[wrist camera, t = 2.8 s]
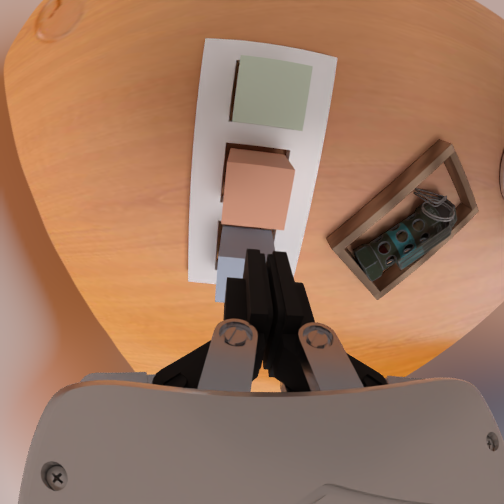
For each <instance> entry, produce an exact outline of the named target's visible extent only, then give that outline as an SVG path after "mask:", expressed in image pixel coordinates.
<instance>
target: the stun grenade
mask: <svg viewBox="0 0 504 504" xmlns="http://www.w3.org/2000/svg"><path fill="white" fill-rule="evenodd" d="M415 190H416V191H417V192H418V193H417V194H416V192H414V194H415V195H416V196H418V197H420V198H421V199H423V200H424V201H425V202H424V203H423V204H422V205H421V206H419V207H418V208H416V211H415V213H414V214H412V215H411V216H409V217H408V218H406V219H405V220H404V221H402V222H401V223H399V224H397V225H396V226H395V227H393V228H391V229H390V230H388V231H387V232H386V233H384V234H382V235H381V236H379V237H378V238H376V239H374V240H373V241H372V242H370V243H369V244H362V245H361V246H359V247H358V248H356V249H354V251H353V252H354V254H355V256H356V258H357V260H358V261H359V263H360V265H361V267H362V268H363V270H364V272H365V273H366V275H367V277H368V279H369V280H370V281H374V280H376V279H377V278H379V277H380V276H381V275H382V273H383V270H385V269H386V268H388V267H390V266H391V265H393V264H395V263H396V264H397V265H398V267H399V268H400V269H401V270H402V269H404V268H405V267H407V266H408V265H410V264H411V263H413V262H414V261H416V260H417V259H418V258H420V257H421V256H423V255H424V254H426V253H427V252H428V251H430V250H431V249H433V248H434V247H435V246H437V245H438V244H439V243H441V242H442V241H444V240H445V239H446V238H448V237H449V236H450V235H451V231H452V227H454V224H455V223H456V221H457V215H456V210H455V205H454V204H452V203H451V202H450V201H449V200H447V196H442V195H439V194H436V193H432V192H429V191H426V190H422V189H417V188H415ZM418 190H420V191H424V192H427V193H431V194H434V195H438V197H434V196H430V195H426V194H422V193H421V192H420V191H418ZM418 194H421V195H423V196H424V197H425V198H427V199H428V200H429V201H427V200H425V199H424V198H422V197H421V196H419V195H418ZM427 196H429V197H432V198H436V199H429V198H428V197H427ZM437 199H438V200H437ZM432 200H435V201H432ZM436 201H438V202H436ZM430 202H432V203H435V204H436V205H433V204H431V203H430ZM398 233H399V234H398ZM423 239H425V240H423ZM421 240H423V241H421ZM406 250H409V251H407V252H405V251H406ZM403 257H404V258H403ZM400 259H401V260H400ZM390 261H392V262H390ZM388 262H390V263H389V264H387V263H388Z"/></svg>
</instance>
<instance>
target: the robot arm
mask: <svg viewBox="0 0 504 504" xmlns="http://www.w3.org/2000/svg"><path fill="white" fill-rule="evenodd" d="M500 185H501V192H502V195H503V198H504V154H503V158H502V163H501V170H500ZM262 360H263V367H264V369H268V373H269V377H275V378H276V379H278V380H279V381H280V389H281V392H250V391H251V384H252V381H253V380H254V379H255V378H257V377H258V373H259V369H260V368H261V364H262ZM18 504H504V441H503V438H502V436H501V433H500V430H499V428H498V426H497V423H496V422H495V419H494V417H493V415H492V413H491V411H490V409H489V407H488V405H487V403H486V401H485V400H484V398H483V396H482V395H481V393H480V392H479V390H478V389H477V388H476V387H475V386H474V385H473V384H471V383H469V382H467V381H464V380H460V379H455V378H430V379H422V378H407V377H395V376H387V377H386V378H384V377H383V376H382V375H381V374H380V373H378V372H377V371H375V370H373V369H372V368H370V367H368V366H367V365H365V364H363V363H362V362H360V361H358V360H357V359H355V358H354V357H352V356H350V355H349V354H347V353H346V352H345V350H344V348H343V346H342V344H341V342H340V340H339V339H338V337H337V335H336V333H335V332H334V331H333V330H332V329H331V328H330V327H328V326H326V325H324V324H321V323H315V321H314V317H313V314H312V311H311V307H310V304H309V301H308V297H307V294H306V291H305V288H304V285H303V283H298V282H295V281H294V278H293V274H292V270H291V267H290V263H289V260H288V256H287V253H286V252H281V251H273V252H272V254H268V255H267V260H266V259H265V254H264V253H260V250H258V249H247V250H246V257H245V264H244V272H243V278H231V277H227V281H226V291H225V304H224V321H222V322H220V323H219V324H218V325H217V326H216V328H215V330H214V333H213V336H212V340H211V341H209V342H207V343H206V344H204V345H202V346H201V347H199V348H197V349H196V350H194V351H192V352H191V353H189V354H187V355H186V356H184V357H182V358H180V359H179V360H177V361H175V362H174V363H172V364H170V365H168V366H167V367H165V368H163V369H161V370H160V371H159V372H158V373H156V375H147V373H146V372H135V373H92V374H89V375H87V376H85V377H84V378H83V379H82V380H81V382H79V383H75V384H71V385H68V386H66V387H64V388H62V389H60V390H59V391H58V392H57V393H56V394H54V395H53V397H52V398H51V400H50V401H49V402H48V404H47V406H46V407H45V409H44V412H43V414H42V416H41V418H40V420H39V423H38V425H37V428H36V430H35V433H34V436H33V439H32V442H31V445H30V448H29V452H28V456H27V460H26V464H25V468H24V473H23V478H22V483H21V488H20V494H19V501H18Z"/></svg>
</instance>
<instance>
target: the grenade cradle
mask: <svg viewBox="0 0 504 504" xmlns="http://www.w3.org/2000/svg"><path fill="white" fill-rule="evenodd" d="M443 162H444V164H445V166H446V168H447V170H448V172H449V174H450V176H451V179H452V181H453V183H454V185H455V188H456V190H457V192H458V195H459V197H460V200H461V202H462V203H461V204H460V205H459V206H458V207H457V208H456V209H455V210H456V215H457V221H456V223H455V224H454V227H452V231H451V235H450V236H449V237H448V238H446V239H445V240H444V241H442V242H441V243H439V244H438V245H437V246H435V247H434V248H433V249H431V250H430V251H428V252H427V253H426V254H424V255H423V256H421V257H420V258H418V259H417V260H416V261H414V262H413V263H411V264H410V265H408V266H407V267H405V268H404V269H402V270H401V269H400V268H399V267H398V265H397V264H396V263H395V264H393V265H392V266H391V267H390V268H388V269H387V270H386V271H385V272H383V273H382V275H381V276H380V277H379V278H377V279H376V280H374V281H370V280H369V279H368V277H367V275H366V273H365V272H364V270H363V268H362V267H361V265H360V264H359V263H358V261H357V260H356V259H355V258H354V257H353V256H352V254H351V253H350V252H349V251H348V250H347V249H346V247H347V246H349V245H350V244H351V243H352V242H353V241H355V240H356V239H357V238H358V237H359V236H361V235H362V234H363V233H364V232H365V231H367V230H368V229H369V228H370V227H371V226H373V225H374V224H375V223H376V222H377V221H378V220H380V219H381V218H382V217H383V216H384V215H385V214H387V213H388V212H389V211H390V210H391V209H392V208H394V207H395V206H396V205H397V204H398V203H399V202H400V201H402V200H403V199H404V198H405V197H406V196H407V195H408V194H409V193H410V192H412V191H413V190H414V189H415V188H416V187H417V186H418V185H419V184H420V183H422V182H423V181H424V180H425V179H426V178H427V177H428V176H429V175H430V174H431V173H432V172H433V171H434V170H436V169H437V168H438V167H439V166H440V165H441V164H442V163H443ZM477 212H478V207H477V204H476V202H475V199H474V196H473V193H472V190H471V188H470V185H469V182H468V180H467V177H466V175H465V172H464V170H463V167H462V165H461V163H460V161H459V158H458V156H457V154H456V152H455V149H454V147H453V145H452V144H451V143H448V142H445V141H443V140H440V139H439V140H438V141H437V142H436V143H435V144H434V145H433V146H432V147H431V148H430V149H429V150H428V151H426V152H425V153H424V154H423V155H422V156H421V157H420V158H419V159H418V160H417V161H415V162H414V163H413V164H412V165H411V166H410V167H409V168H408V169H407V170H405V171H404V172H403V173H402V174H401V175H400V176H399V177H398V178H396V179H395V180H394V181H393V182H392V183H391V184H390V185H389V186H387V187H386V188H385V189H384V190H383V191H382V192H381V193H379V194H378V195H377V196H376V197H375V198H374V199H372V200H371V201H370V202H369V203H368V204H367V205H366V206H364V207H363V208H362V209H361V210H360V211H359V212H357V213H356V214H355V215H354V216H353V217H351V218H350V219H349V220H348V221H347V222H346V223H344V224H343V225H342V226H341V227H340V228H338V229H337V230H336V231H335V232H334V233H332V234H331V235H330V236H329V237H328V238H326V239H327V241H328V243H329V245H330V247H331V248H332V250H333V251H334V252H335V253H336V254H337V255H338V256H339V258H340V259H341V260H342V261H343V262H344V263H345V264H346V265H347V266H348V267H349V269H350V270H351V271H352V272H353V273H354V274H355V275H356V276H357V278H358V279H359V280H360V281H361V282H362V283H363V284H364V285H365V287H366V288H367V289H368V290H369V291H370V292H371V294H372V295H373V296H374V297H375V298H376V299H377V300H378V299H380V298H381V297H382V296H384V295H385V294H386V293H388V292H389V291H390V290H391V289H393V288H394V287H395V286H396V285H398V284H399V283H400V282H401V281H403V280H404V279H405V278H406V277H408V276H409V275H410V274H411V273H412V272H414V271H415V270H416V269H417V268H418V267H420V266H421V265H422V264H423V263H424V262H425V261H427V260H428V259H429V258H430V257H431V256H432V255H433V254H435V253H436V252H437V251H438V250H439V249H440V248H441V247H442V246H443V245H445V244H446V243H447V242H448V241H449V240H450V239H451V238H452V237H453V236H454V235H455V234H456V233H457V232H458V231H459V230H460V229H461V228H463V227H464V226H465V225H466V224H467V223H468V222H469V221H470V220H471V219H472V218H473V217H474V216H475V215H476V213H477ZM423 240H425V239H423ZM423 240H422V241H423ZM403 258H404V257H403ZM400 260H401V259H400Z"/></svg>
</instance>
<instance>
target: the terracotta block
mask: <svg viewBox="0 0 504 504" xmlns="http://www.w3.org/2000/svg"><path fill="white" fill-rule="evenodd" d="M294 175H295V169H294V167H293V166H292V165H291V163H290V162H289V160H288V159H287V158H286V156H285V155H283V154H276V153H269V152H261V151H253V150H244V149H234V148H231V149H230V153H229V157H228V160H227V168H226V178H225V188H224V198H223V209H222V220H221V224H227V225H237V226H247V227H257V228H266V229H276V230H284V228H285V222H286V217H287V212H288V207H289V202H290V196H291V191H292V186H293V180H294Z"/></svg>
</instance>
